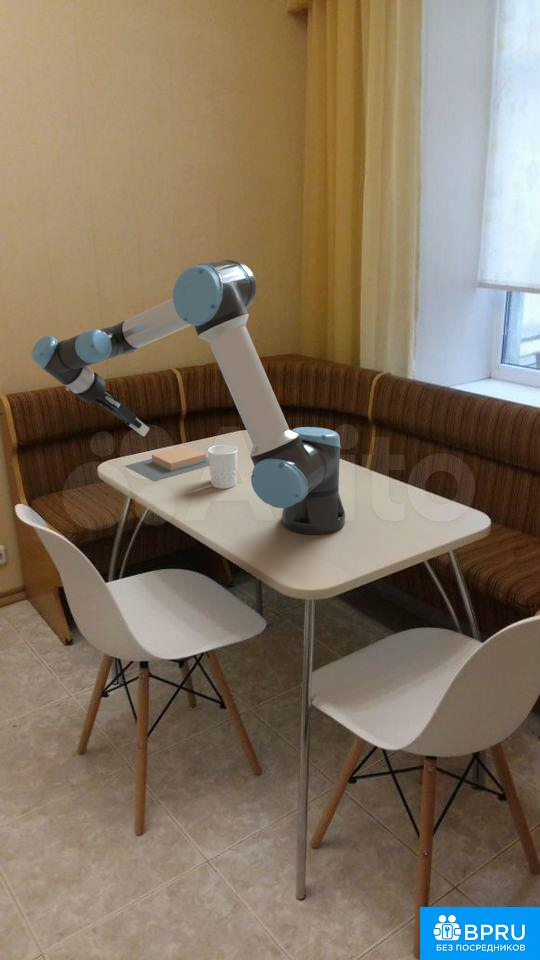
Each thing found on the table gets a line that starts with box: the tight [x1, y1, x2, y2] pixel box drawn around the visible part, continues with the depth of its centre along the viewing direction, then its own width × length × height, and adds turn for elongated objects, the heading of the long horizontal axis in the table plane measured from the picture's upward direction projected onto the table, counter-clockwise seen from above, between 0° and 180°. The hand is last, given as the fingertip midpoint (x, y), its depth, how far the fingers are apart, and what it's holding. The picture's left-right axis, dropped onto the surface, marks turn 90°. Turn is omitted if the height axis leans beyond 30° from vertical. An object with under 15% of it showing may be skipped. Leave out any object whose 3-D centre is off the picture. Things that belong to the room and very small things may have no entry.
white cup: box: [207, 444, 238, 490], centre depth 203 cm, size 8×8×10 cm
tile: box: [151, 445, 207, 472], centre depth 219 cm, size 2×10×12 cm
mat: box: [124, 456, 209, 482], centre depth 218 cm, size 22×16×1 cm
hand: (145, 431), depth 209 cm, fingers closed
